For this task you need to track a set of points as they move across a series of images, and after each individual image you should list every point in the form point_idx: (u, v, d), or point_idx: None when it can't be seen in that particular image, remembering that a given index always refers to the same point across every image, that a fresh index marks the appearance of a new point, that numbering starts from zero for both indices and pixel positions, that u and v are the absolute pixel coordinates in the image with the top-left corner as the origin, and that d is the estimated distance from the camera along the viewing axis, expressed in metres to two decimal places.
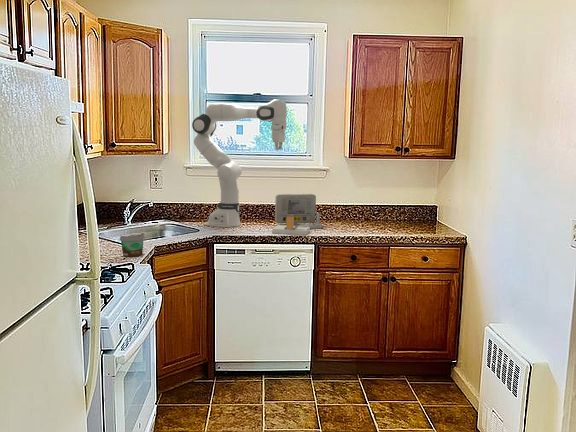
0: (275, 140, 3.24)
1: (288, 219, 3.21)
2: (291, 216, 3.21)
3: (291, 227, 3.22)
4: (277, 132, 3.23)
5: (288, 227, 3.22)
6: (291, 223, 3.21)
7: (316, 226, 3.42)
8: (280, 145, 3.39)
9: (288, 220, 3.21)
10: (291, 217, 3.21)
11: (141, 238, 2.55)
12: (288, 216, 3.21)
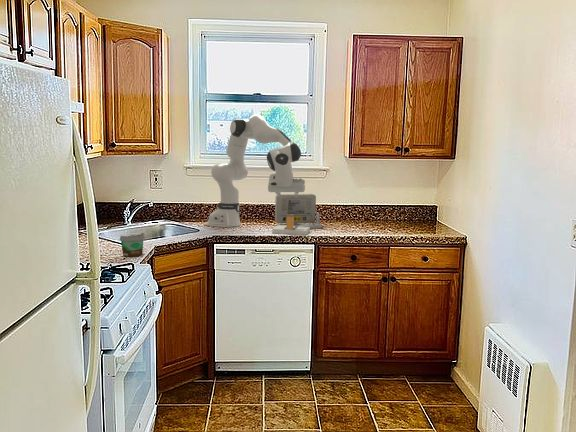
0: None
1: (288, 219, 3.21)
2: (291, 216, 3.21)
3: (291, 227, 3.22)
4: (268, 184, 2.99)
5: (288, 227, 3.22)
6: (291, 223, 3.21)
7: (316, 226, 3.42)
8: None
9: (288, 220, 3.21)
10: (291, 217, 3.21)
11: (141, 238, 2.55)
12: (288, 216, 3.21)
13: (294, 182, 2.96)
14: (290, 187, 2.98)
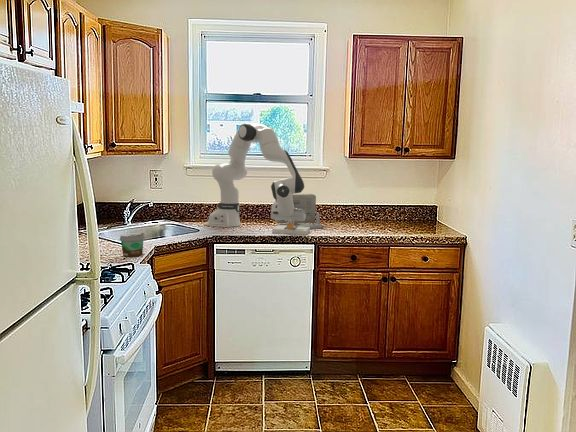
0: None
1: None
2: None
3: (291, 227, 3.23)
4: None
5: (288, 227, 3.23)
6: None
7: (316, 226, 3.42)
8: None
9: None
10: None
11: (141, 238, 2.55)
12: None
13: (295, 212, 3.11)
14: (291, 216, 3.13)
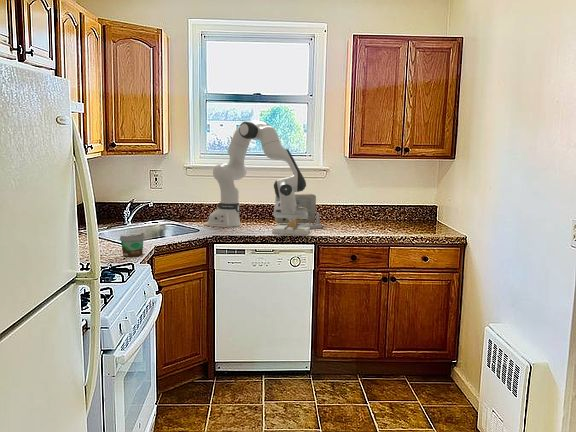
0: None
1: None
2: None
3: (293, 225, 3.29)
4: None
5: (291, 225, 3.30)
6: (294, 221, 3.29)
7: (316, 226, 3.42)
8: None
9: None
10: None
11: (141, 238, 2.55)
12: None
13: (297, 210, 3.17)
14: (294, 214, 3.20)
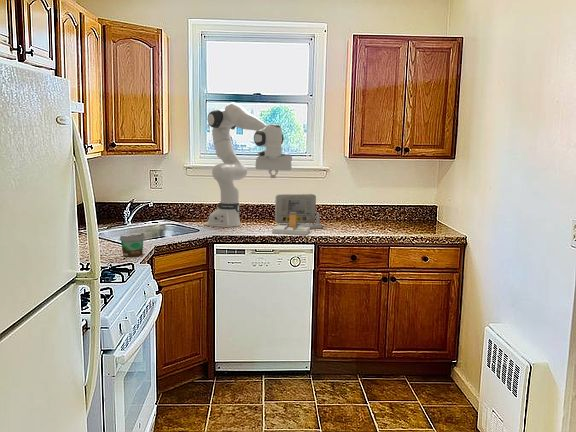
0: None
1: (291, 217, 3.29)
2: (294, 214, 3.28)
3: (293, 225, 3.29)
4: None
5: (291, 225, 3.30)
6: (294, 221, 3.29)
7: (316, 226, 3.42)
8: None
9: (291, 218, 3.29)
10: (294, 215, 3.28)
11: (141, 238, 2.55)
12: (291, 214, 3.29)
13: (282, 156, 3.05)
14: (277, 162, 3.05)
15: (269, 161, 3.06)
